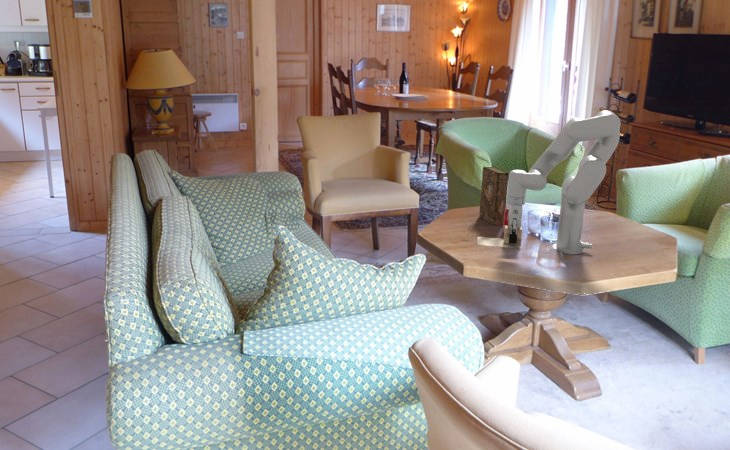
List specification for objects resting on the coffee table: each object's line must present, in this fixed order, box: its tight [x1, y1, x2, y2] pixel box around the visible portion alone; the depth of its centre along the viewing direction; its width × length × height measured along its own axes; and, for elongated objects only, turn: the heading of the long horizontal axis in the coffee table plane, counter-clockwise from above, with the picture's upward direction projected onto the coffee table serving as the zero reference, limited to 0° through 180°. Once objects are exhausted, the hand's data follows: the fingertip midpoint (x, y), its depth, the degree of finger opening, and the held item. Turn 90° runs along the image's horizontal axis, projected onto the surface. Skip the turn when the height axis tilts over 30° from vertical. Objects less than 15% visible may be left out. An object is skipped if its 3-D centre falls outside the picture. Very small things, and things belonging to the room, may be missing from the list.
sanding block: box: [503, 226, 523, 247], centre depth 292 cm, size 7×4×7 cm, turn 80°
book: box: [479, 165, 510, 227], centre depth 327 cm, size 16×6×25 cm, turn 17°
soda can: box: [502, 206, 509, 233], centre depth 309 cm, size 7×7×12 cm
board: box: [477, 236, 522, 249], centre depth 294 cm, size 18×12×1 cm, turn 80°
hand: (512, 240), depth 292 cm, fingers open, 6 cm apart
